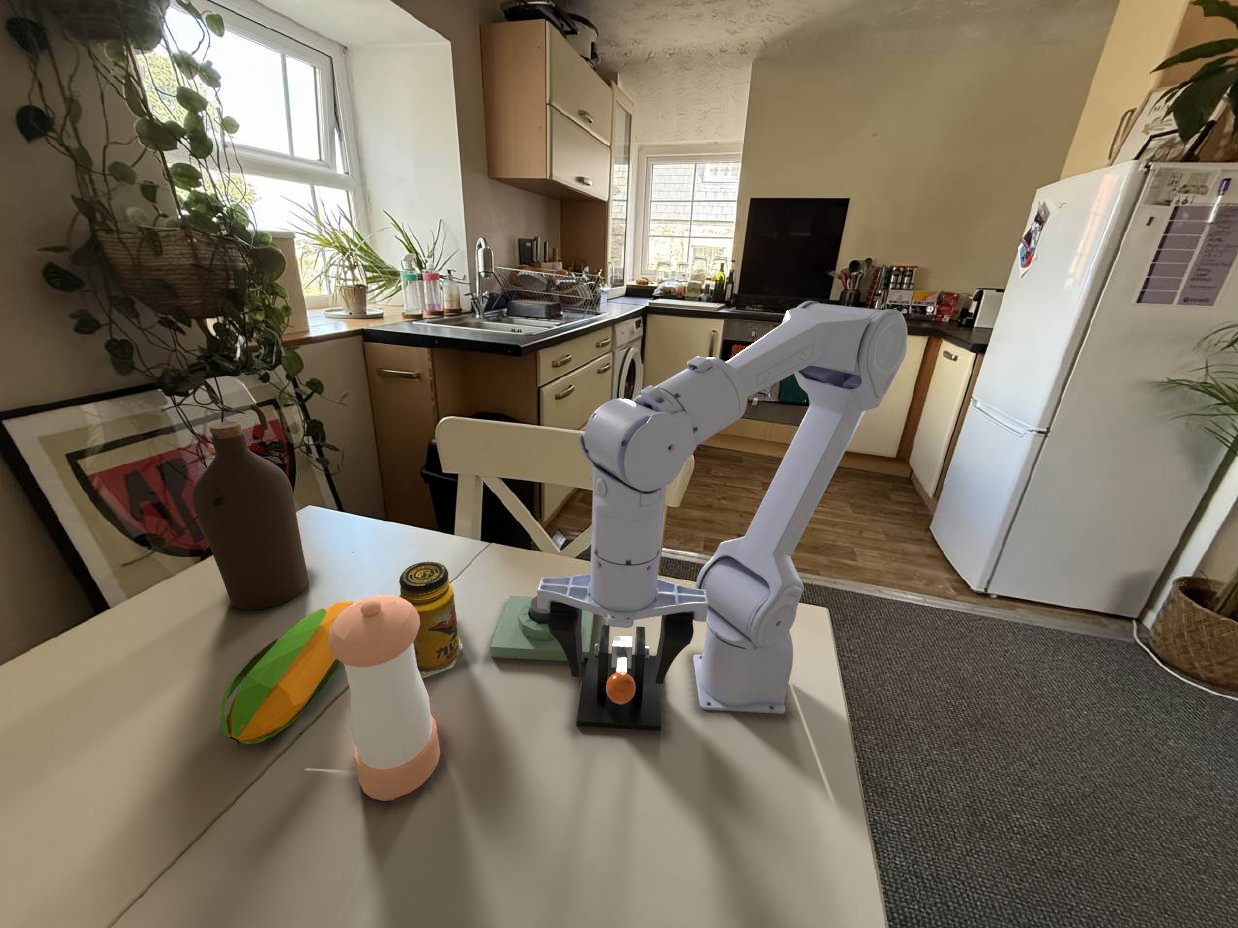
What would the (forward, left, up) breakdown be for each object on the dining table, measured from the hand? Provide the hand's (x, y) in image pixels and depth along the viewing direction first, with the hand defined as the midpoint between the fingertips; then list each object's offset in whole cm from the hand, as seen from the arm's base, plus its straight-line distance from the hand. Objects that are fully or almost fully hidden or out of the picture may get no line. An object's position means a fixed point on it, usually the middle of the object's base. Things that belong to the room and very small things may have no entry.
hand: (617, 672), depth 46 cm
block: (+10, -17, -11) cm, 22 cm away
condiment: (+24, -12, -11) cm, 28 cm away
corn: (+36, -7, -11) cm, 38 cm away
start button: (+10, -17, -7) cm, 21 cm away
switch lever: (0, -3, -5) cm, 6 cm away
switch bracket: (0, -8, -11) cm, 13 cm away
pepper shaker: (+21, +2, -11) cm, 23 cm away
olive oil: (+51, -23, -11) cm, 56 cm away
